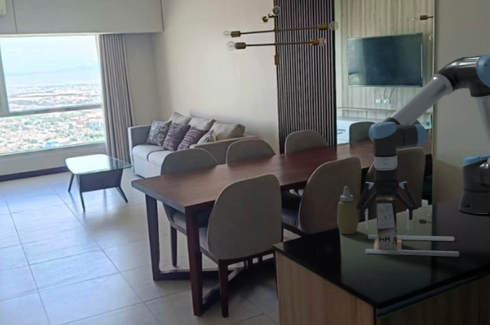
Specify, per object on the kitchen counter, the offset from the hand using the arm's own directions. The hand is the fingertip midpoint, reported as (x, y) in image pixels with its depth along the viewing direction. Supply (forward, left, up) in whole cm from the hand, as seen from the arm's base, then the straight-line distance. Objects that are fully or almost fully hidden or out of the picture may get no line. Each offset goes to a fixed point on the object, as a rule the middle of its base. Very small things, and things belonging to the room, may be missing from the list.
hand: (387, 228), depth 172 cm
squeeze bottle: (+15, -14, -6) cm, 21 cm away
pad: (0, 0, -6) cm, 6 cm away
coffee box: (0, 0, -6) cm, 6 cm away
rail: (-8, 0, -6) cm, 10 cm away
